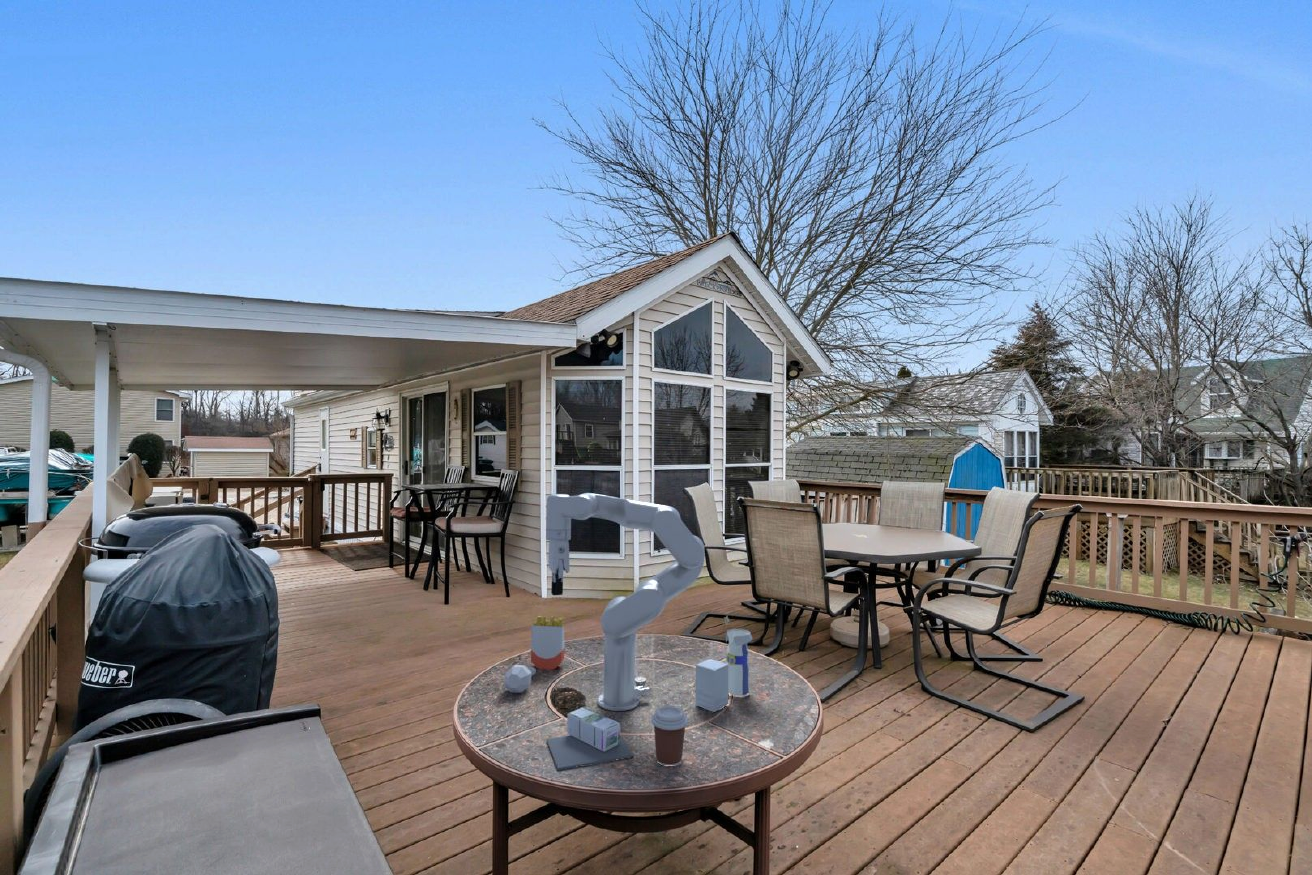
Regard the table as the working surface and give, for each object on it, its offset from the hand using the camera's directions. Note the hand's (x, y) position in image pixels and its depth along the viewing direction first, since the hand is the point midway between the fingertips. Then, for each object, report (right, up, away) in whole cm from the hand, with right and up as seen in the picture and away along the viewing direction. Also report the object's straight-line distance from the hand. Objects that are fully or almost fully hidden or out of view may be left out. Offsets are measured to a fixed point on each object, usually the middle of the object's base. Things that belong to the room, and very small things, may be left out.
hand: (557, 594), depth 183 cm
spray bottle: (+56, -34, +7) cm, 66 cm away
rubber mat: (+13, -32, -30) cm, 46 cm away
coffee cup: (+34, -32, -35) cm, 58 cm away
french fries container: (-8, -33, +27) cm, 43 cm away
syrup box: (+8, -28, -21) cm, 36 cm away
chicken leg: (-13, -32, +10) cm, 36 cm away
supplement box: (+47, -33, -3) cm, 58 cm away
